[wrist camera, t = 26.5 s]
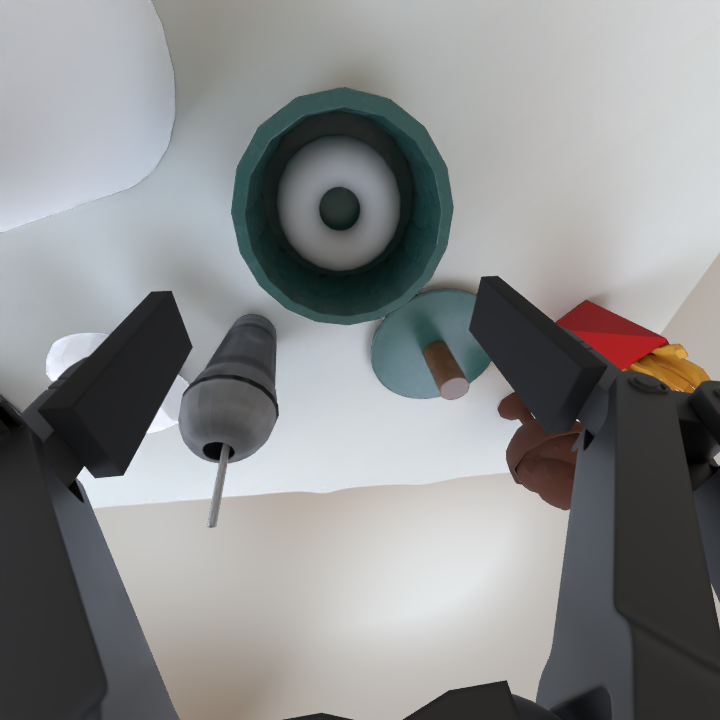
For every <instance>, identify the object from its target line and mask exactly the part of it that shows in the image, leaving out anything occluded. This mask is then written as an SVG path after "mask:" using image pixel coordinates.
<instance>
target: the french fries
mask: <svg viewBox="0 0 720 720" xmlns="http://www.w3.org/2000/svg"><path fill="white" fill-rule="evenodd" d="M556 324H557V325H558V326H561V327H563V328H565V329H567V330H570V331H572V332H574V333H575V334H577V335H578V336H579V337H580V338H582V339H583V340H584V341H585V343H588V344H589V345H590V346H592V347H593V350H597V351H598V352H599V353H600V354H602V355H603V356H604V357H606V358H607V359H608V360H609V361H611V362H612V363H613V364H614V365H616V366H617V367H618V368H619V369H621V370H622V371H637V372H642V373H645V374H648V375H651V376H653V377H655V378H657V379H659V380H661V381H663V382H664V383H665V384H666V385H667V386H669V387H670V389H671V390H673V391H676V390H675V389H674V388H676V389H677V390H679V391H680V392H681V391H682V390H683V391H684V392H688V393H693V392H694V389H693V388H692V387H694V388H695V389H696V388H697V387H698V386H699V384H700V383H701V382H703V381H707V380H710V378H709V376H708V375H707V374H706V372H705V371H704V370H703V369H702V368H700V367H699V366H697V365H695V364H694V363H692V362H690V361H688V360H686V359H683V358H685V357H688V354H687V352H686V351H685V349H684V348H683V346H682V345H680V344H671V345H670V344H669V343H668V341H667V339H666V338H664V337H662V336H660V335H658V334H656V333H654V332H652V331H650V330H648V329H646V328H644V327H642V326H639V325H637V324H635V323H633V322H631V321H629V320H627V319H625V318H623V317H621V316H619V315H617V314H615V313H613V312H610V311H608V310H606V309H604V308H602V307H600V306H598V305H596V304H594V303H592V302H590V301H588V300H585V301H584V302H582V303H581V304H580V305H578V306H577V307H576V308H575V309H573V310H572V311H571V312H569V313H568V314H567V315H565V316H564V317H563V318H561V319H560V320H559V321H557V322H556ZM690 385H691V386H692V387H691V386H690Z"/></svg>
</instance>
